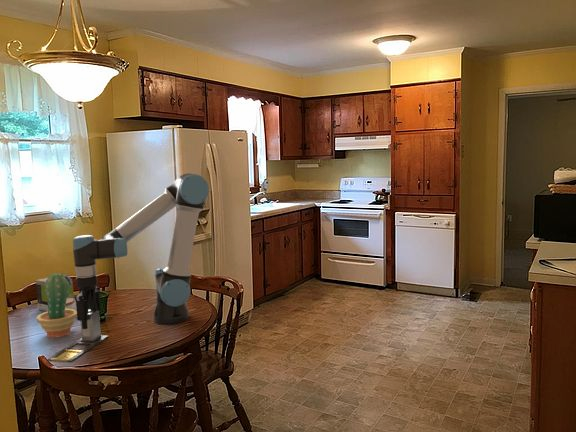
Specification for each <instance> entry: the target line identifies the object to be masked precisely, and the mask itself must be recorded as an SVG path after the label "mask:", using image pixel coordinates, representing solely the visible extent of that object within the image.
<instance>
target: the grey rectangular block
mask: <svg viewBox="0 0 576 432" xmlns="http://www.w3.org/2000/svg"><path fill="white" fill-rule="evenodd" d="M99 312H100V311H99V310H91V309H88V320H89V322H90V333H91V336H90V337H84V336H83V329H82V321H79V322H80V330H81V331H80V332H81V338H82V341H81V342H90V343H94V342H96V341H97V340H99V339H100V337H101V335H102V333H101V332H102V331H101V320H100V314H99Z"/></svg>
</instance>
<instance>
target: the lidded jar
mask: <svg viewBox="0 0 576 432" xmlns="http://www.w3.org/2000/svg"><path fill="white" fill-rule="evenodd" d="M65 309H74V310H75V298H74V299H73V298H67V299H66V305H65Z"/></svg>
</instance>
